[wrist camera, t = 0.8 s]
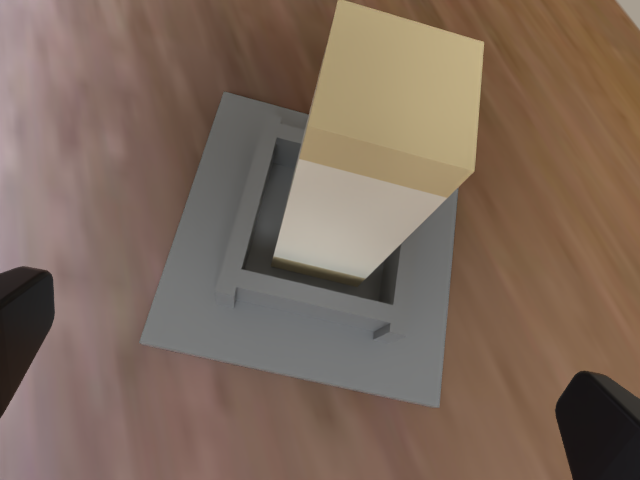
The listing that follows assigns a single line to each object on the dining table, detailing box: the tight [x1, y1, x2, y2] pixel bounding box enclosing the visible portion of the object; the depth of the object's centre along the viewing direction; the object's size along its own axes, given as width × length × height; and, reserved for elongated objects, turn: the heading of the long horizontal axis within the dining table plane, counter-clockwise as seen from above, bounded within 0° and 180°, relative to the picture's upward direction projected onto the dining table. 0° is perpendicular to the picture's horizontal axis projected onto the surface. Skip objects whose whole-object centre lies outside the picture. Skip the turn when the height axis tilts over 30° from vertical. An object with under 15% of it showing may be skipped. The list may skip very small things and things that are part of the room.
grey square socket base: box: [139, 92, 458, 408], centre depth 23 cm, size 14×14×3 cm
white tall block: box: [271, 0, 484, 287], centre depth 18 cm, size 4×4×12 cm
